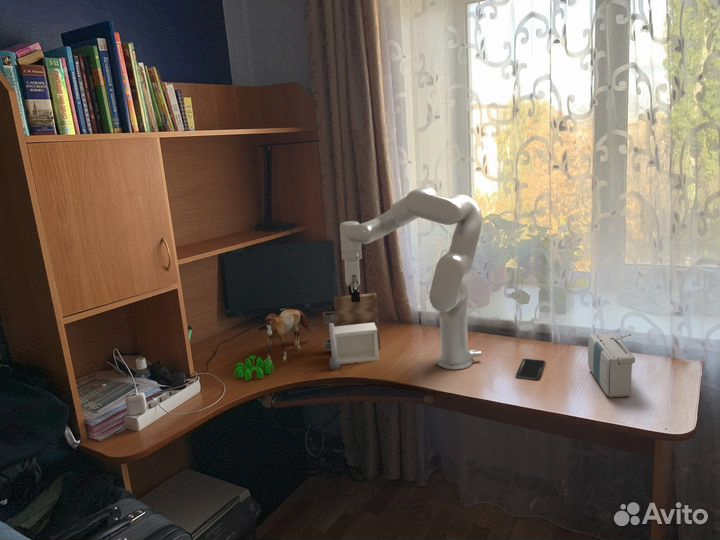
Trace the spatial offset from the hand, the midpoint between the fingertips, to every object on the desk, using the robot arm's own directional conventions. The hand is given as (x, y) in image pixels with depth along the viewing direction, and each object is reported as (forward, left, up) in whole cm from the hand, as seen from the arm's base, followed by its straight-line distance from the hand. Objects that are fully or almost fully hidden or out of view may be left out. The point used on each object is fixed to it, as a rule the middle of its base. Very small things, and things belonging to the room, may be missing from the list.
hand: (354, 298), depth 220 cm
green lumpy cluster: (+40, +12, -22) cm, 47 cm away
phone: (-55, +35, -22) cm, 69 cm away
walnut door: (+2, 0, -21) cm, 21 cm away
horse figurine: (+25, -2, -21) cm, 33 cm away
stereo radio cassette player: (-74, +51, -21) cm, 93 cm away
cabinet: (+3, +11, -21) cm, 24 cm away
